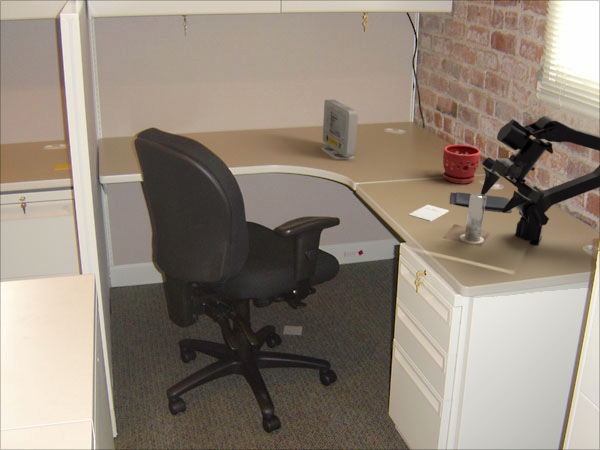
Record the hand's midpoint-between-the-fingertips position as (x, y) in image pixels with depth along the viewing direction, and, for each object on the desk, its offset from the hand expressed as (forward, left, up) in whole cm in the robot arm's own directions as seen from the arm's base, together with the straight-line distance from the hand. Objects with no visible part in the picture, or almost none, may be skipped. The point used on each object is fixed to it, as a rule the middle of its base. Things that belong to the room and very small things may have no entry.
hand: (492, 203), depth 182 cm
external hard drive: (+20, -9, -12) cm, 25 cm away
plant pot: (+22, -50, -11) cm, 56 cm away
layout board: (+5, +2, -11) cm, 12 cm away
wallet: (+9, -30, -12) cm, 34 cm away
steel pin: (+3, +5, -10) cm, 11 cm away
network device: (+75, -57, -11) cm, 95 cm away
